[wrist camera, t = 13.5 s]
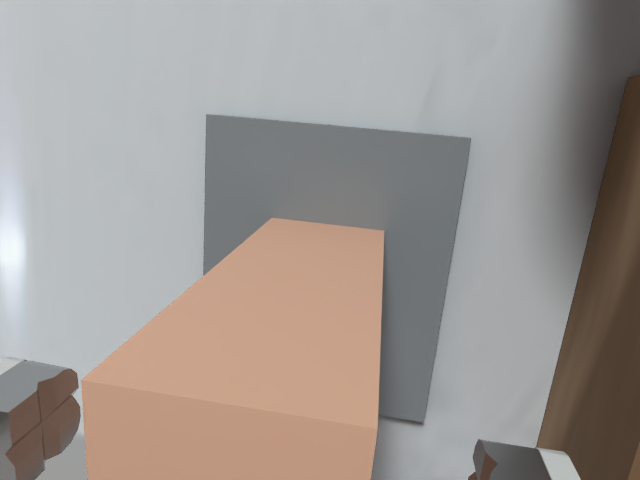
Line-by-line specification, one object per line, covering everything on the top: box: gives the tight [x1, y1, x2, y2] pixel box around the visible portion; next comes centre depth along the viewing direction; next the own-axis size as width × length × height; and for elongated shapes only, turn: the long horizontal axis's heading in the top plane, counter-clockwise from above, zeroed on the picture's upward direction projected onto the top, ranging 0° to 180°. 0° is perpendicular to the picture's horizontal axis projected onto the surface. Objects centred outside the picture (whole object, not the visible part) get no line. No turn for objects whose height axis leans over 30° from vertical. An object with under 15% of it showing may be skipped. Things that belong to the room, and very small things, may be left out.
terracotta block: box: [81, 218, 384, 480], centre depth 13 cm, size 4×4×12 cm
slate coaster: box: [203, 114, 471, 422], centre depth 19 cm, size 10×12×1 cm
